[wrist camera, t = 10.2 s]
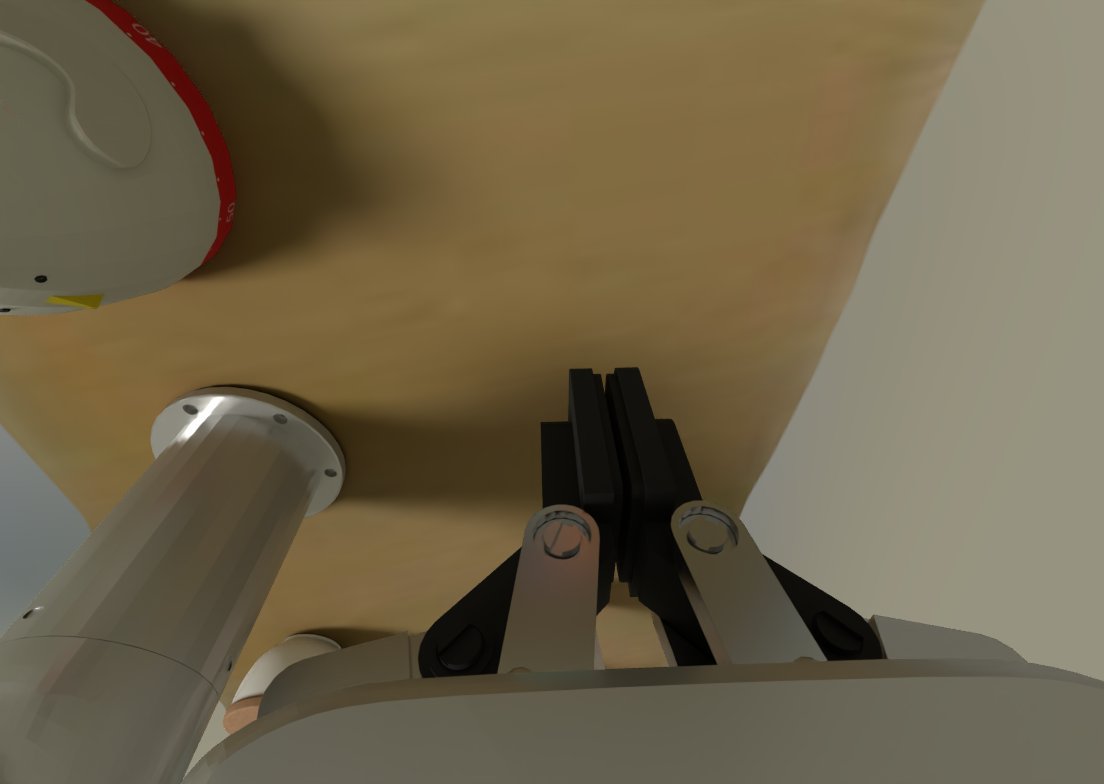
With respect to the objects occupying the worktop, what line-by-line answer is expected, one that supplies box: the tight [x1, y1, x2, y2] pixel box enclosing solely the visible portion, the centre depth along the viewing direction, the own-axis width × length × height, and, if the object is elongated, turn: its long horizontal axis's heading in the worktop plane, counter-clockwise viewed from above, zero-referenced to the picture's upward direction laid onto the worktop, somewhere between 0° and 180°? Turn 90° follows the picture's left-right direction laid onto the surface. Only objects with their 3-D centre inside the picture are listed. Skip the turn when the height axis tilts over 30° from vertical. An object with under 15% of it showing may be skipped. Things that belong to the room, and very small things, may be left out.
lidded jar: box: [223, 634, 341, 734], centre depth 49 cm, size 11×11×9 cm
